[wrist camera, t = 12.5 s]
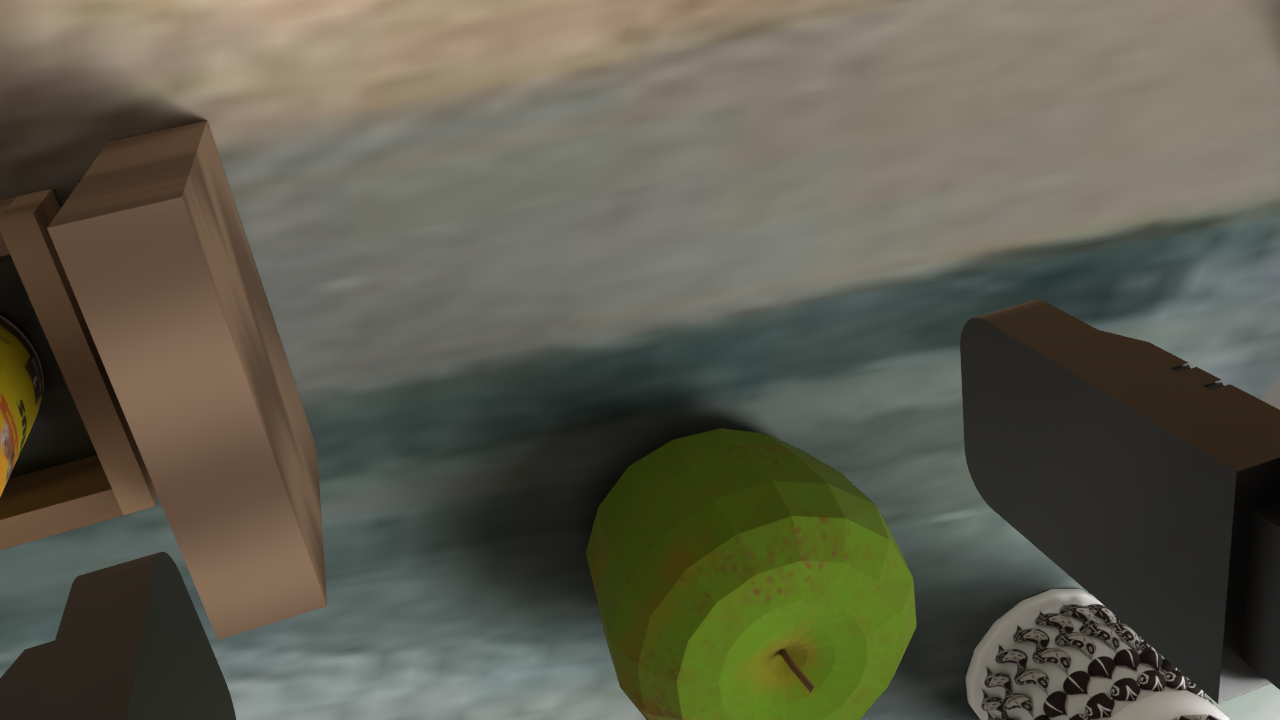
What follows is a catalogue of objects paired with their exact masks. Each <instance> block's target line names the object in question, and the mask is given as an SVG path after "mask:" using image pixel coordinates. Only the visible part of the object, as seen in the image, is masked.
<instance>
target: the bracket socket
mask: <svg viewBox="0 0 1280 720" xmlns="http://www.w3.org/2000/svg"><path fill="white" fill-rule="evenodd" d="M9 254H10V255H11V257H12V260H13V262H14V264H15V266H16V269H17V271H18V273H19V276H20V278H21V280H22V283H23V285H24V287H25V289H26V292H27V294H28V296H29V299H30V301H31V303H32V306H33V308H34V310H35V313H36V315H37V317H38V319H39V322H40V324H41V326H42V329H43V331H44V333H45V336H46V338H47V340H48V342H49V345H50V347H51V349H52V352H53V354H54V356H55V359H56V361H57V363H58V365H59V368H60V370H61V372H62V375H63V377H64V379H65V382H66V384H67V386H68V388H69V391H70V393H71V395H72V398H73V400H74V402H75V405H76V407H77V409H78V412H79V414H80V416H81V418H82V421H83V423H84V425H85V428H86V430H87V432H88V435H89V437H90V439H91V441H92V444H93V446H94V448H95V451H96V453H97V455H94V456H90V457H87V458H83V459H79V460H76V461H72V462H68V463H65V464H61V465H57V466H53V467H50V468H46V469H42V470H39V471H35V472H31V473H28V474H24V475H20V476H17V477H13V478H9V479H8V481H7V483H6V486H5V488H4V490H3V492H2V495H1V497H0V550H2V549H6V548H9V547H13V546H16V545H20V544H23V543H27V542H30V541H34V540H38V539H41V538H45V537H48V536H52V535H55V534H59V533H62V532H66V531H69V530H73V529H77V528H80V527H84V526H87V525H91V524H94V523H98V522H101V521H105V520H108V519H112V518H115V517H119V516H123V515H126V514H130V513H133V512H137V511H140V510H144V509H147V508H151V507H154V506H156V502H157V497H159V499H160V502H161V504H162V507H163V509H164V511H165V514H166V516H167V519H168V521H169V523H170V526H171V528H172V531H173V533H174V535H175V538H176V540H177V543H178V545H179V548H180V550H181V552H182V555H183V557H184V560H185V562H186V564H187V567H188V569H189V572H190V574H191V576H192V579H193V581H194V584H195V586H196V589H197V591H198V593H199V596H200V598H201V601H202V603H203V605H204V608H205V610H206V613H207V615H208V617H209V620H210V622H211V625H212V627H213V630H214V632H215V634H216V637H217V639H222V638H225V637H228V636H231V635H235V634H238V633H241V632H244V631H248V630H251V629H254V628H257V627H261V626H264V625H267V624H270V623H274V622H277V621H280V620H283V619H287V618H290V617H293V616H296V615H300V614H303V613H306V612H309V611H312V610H316V609H319V608H322V607H325V606H327V598H326V582H325V567H324V551H323V535H322V520H321V504H320V488H319V473H318V457H317V447H316V444H315V441H314V438H313V435H312V432H311V429H310V426H309V423H308V420H307V417H306V414H305V411H304V408H303V405H302V402H301V399H300V396H299V393H298V390H297V387H296V384H295V381H294V378H293V375H292V372H291V369H290V366H289V363H288V360H287V357H286V354H285V351H284V348H283V345H282V342H281V339H280V336H279V333H278V330H277V327H276V324H275V321H274V318H273V315H272V312H271V309H270V306H269V303H268V300H267V297H266V294H265V291H264V288H263V285H262V282H261V280H260V277H259V274H258V271H257V268H256V265H255V262H254V259H253V256H252V253H251V250H250V247H249V244H248V241H247V238H246V235H245V232H244V229H243V226H242V223H241V220H240V217H239V214H238V211H237V208H236V205H235V202H234V199H233V196H232V193H231V190H230V187H229V184H228V181H227V178H226V175H225V172H224V169H223V166H222V163H221V160H220V157H219V154H218V151H217V148H216V145H215V142H214V139H213V136H212V133H211V130H210V127H209V124H208V121H207V120H206V121H201V122H197V123H192V124H187V125H183V126H178V127H174V128H169V129H165V130H160V131H155V132H151V133H146V134H142V135H137V136H133V137H128V138H123V139H119V140H114V141H110V142H107V144H106V145H105V147H104V148H103V149H102V151H101V152H100V154H99V155H98V157H97V158H96V159H95V161H94V162H93V164H92V165H91V166H90V168H89V169H88V171H87V172H86V174H85V175H84V176H83V178H82V179H81V181H80V182H79V184H78V185H77V186H76V188H75V189H74V191H73V192H72V193H71V195H70V196H69V198H68V199H67V201H66V202H65V203H64V205H63V206H62V208H60V206H59V203H58V201H57V198H56V196H55V193H54V191H53V189H52V188H51V189H47V190H42V191H38V192H33V193H29V194H24V195H20V196H15V197H11V198H7V199H2V200H0V257H1V256H5V255H9Z"/></svg>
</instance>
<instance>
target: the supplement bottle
mask: <svg viewBox="0 0 1280 720" xmlns="http://www.w3.org/2000/svg"><path fill="white" fill-rule="evenodd" d="M43 391H44V379H43V372H42V367H41V364H40V360H39V358H38V355H37V353H36V351H35V349H34V347H33V346H32V344H31V343H30V341H29V340H28V339H27V337H26V336H25V335H24V334H23V333H22V332H21V331H20V330H19V329H18V328H17V327H16V326H15V325H14V324H13V323H11V322H10V321H9V320H7V319H6V318H5V317H3V316H2V315H0V497H1V495H2V492H3V490H4V488H5V486H6V483H7V481H8V479H9V477H10V475H11V472H12V470H13V468H14V466H15V463H16V461H17V459H18V457H19V455H20V452H21V450H22V448H23V446H24V444H25V442H26V439H27V437H28V435H29V433H30V431H31V428H32V426H33V424H34V421H35V419H36V417H37V414H38V412H39V409H40V406H41V402H42V398H43Z"/></svg>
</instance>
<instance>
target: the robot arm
mask: <svg viewBox="0 0 1280 720" xmlns="http://www.w3.org/2000/svg"><path fill="white" fill-rule="evenodd" d="M960 350H961V373H962V396H963V419H964V442H965V455H966V460H967V465H968V468H969V472H970V474H971V477H972V479H973V482H974V484H975V486H976V488H977V490H978V492H979V493H980V495H981V496H982V498H983V499H984V500H985V502H986V503H987V504H988V505H989V506H990V507H991V508H992V509H993V510H994V511H995V512H996V513H998V514H999V515H1000V516H1001V517H1002V518H1003V519H1005V520H1006V521H1007V522H1008V523H1009V524H1010V525H1011V526H1013V527H1014V528H1015V529H1016V530H1017V531H1018V532H1020V533H1021V534H1022V535H1023V536H1024V537H1025V538H1027V539H1028V540H1029V541H1030V542H1031V543H1032V544H1033V545H1035V546H1036V547H1037V548H1038V549H1039V550H1040V551H1042V552H1043V553H1044V554H1045V555H1046V556H1047V557H1049V558H1050V559H1051V560H1052V561H1053V562H1054V563H1055V564H1057V565H1058V566H1059V567H1060V568H1061V569H1062V570H1064V571H1065V572H1066V573H1067V574H1068V575H1069V576H1071V577H1072V578H1073V579H1074V580H1075V581H1076V582H1077V583H1079V584H1080V585H1081V586H1082V587H1083V588H1084V589H1086V590H1087V591H1088V592H1089V593H1090V594H1091V595H1093V596H1094V597H1095V598H1096V599H1097V600H1098V601H1099V602H1101V603H1102V604H1103V605H1104V606H1105V607H1106V608H1108V609H1109V610H1110V611H1111V612H1112V613H1113V614H1114V615H1116V616H1117V617H1118V618H1119V619H1120V620H1121V621H1123V622H1124V623H1125V624H1126V625H1127V626H1128V627H1130V628H1131V629H1132V630H1133V631H1134V632H1135V633H1136V634H1138V635H1139V636H1140V637H1141V638H1142V639H1143V640H1145V641H1146V642H1147V643H1148V644H1149V645H1150V646H1152V647H1153V648H1154V649H1155V650H1156V651H1157V652H1158V653H1160V654H1161V655H1162V656H1163V657H1164V658H1165V659H1167V660H1168V661H1169V662H1170V663H1171V664H1172V665H1174V666H1175V667H1176V668H1177V669H1178V670H1179V671H1180V672H1182V673H1183V674H1184V675H1185V676H1186V677H1187V678H1189V679H1190V680H1191V681H1192V682H1193V683H1194V684H1196V685H1197V686H1198V687H1199V688H1200V689H1201V690H1202V691H1204V692H1205V693H1206V694H1207V695H1208V696H1209V697H1211V698H1212V699H1213V700H1214V701H1215V702H1216V703H1218V704H1220V703H1222V702H1225V701H1227V700H1230V699H1233V698H1235V697H1238V696H1240V695H1243V694H1246V693H1248V692H1251V691H1253V690H1256V689H1259V688H1261V687H1264V686H1266V685H1269V684H1271V683H1272V684H1273V685H1275V686H1276V687H1277V688H1278V689H1280V410H1279V409H1277V408H1275V407H1273V406H1271V405H1269V404H1267V403H1265V402H1263V401H1261V400H1260V399H1258V398H1256V397H1254V396H1252V395H1250V394H1248V393H1246V392H1244V391H1242V390H1240V389H1238V388H1236V387H1234V386H1232V385H1227V386H1224V385H1223V384H1222V380H1221V379H1219V378H1217V377H1215V376H1213V375H1211V374H1209V373H1207V372H1205V371H1203V370H1201V369H1199V368H1197V367H1195V368H1192V369H1191V368H1190V367H1189V363H1188V362H1186V361H1184V360H1182V359H1180V358H1178V357H1176V356H1174V355H1172V354H1170V353H1168V352H1166V351H1165V350H1163V349H1161V348H1159V347H1157V346H1155V345H1153V344H1151V343H1149V342H1145V341H1141V340H1137V339H1133V338H1129V337H1125V336H1121V335H1117V334H1112V333H1108V332H1104V331H1100V330H1097V329H1095V328H1094V327H1092V326H1090V325H1088V324H1086V323H1084V322H1082V321H1080V320H1079V319H1077V318H1075V317H1073V316H1071V315H1069V314H1067V313H1065V312H1063V311H1062V310H1060V309H1058V308H1056V307H1054V306H1052V305H1050V304H1048V303H1046V302H1044V301H1041V300H1034V301H1030V302H1026V303H1023V304H1019V305H1016V306H1013V307H1009V308H1006V309H1002V310H999V311H995V312H992V313H988V314H985V315H982V316H978V317H975V318H972V319H970V320H968V321H967V323H966V324H965V326H964V327H963V330H962V334H961V341H960ZM0 720H236V716H235V711H234V707H233V703H232V700H231V696H230V693H229V690H228V687H227V684H226V682H225V679H224V677H223V674H222V672H221V670H220V667H219V665H218V662H217V660H216V658H215V655H214V653H213V650H212V648H211V646H210V643H209V641H208V639H207V636H206V634H205V631H204V629H203V627H202V624H201V622H200V619H199V617H198V615H197V612H196V610H195V608H194V605H193V603H192V600H191V598H190V596H189V593H188V591H187V588H186V586H185V584H184V581H183V579H182V577H181V574H180V572H179V570H178V568H177V566H176V564H175V563H174V561H173V560H172V558H171V557H170V556H169V555H168V554H167V553H165V552H160V553H156V554H153V555H149V556H146V557H142V558H139V559H135V560H132V561H129V562H125V563H122V564H118V565H115V566H111V567H108V568H105V569H101V570H98V571H94V572H91V573H87V574H84V575H80V576H78V577H76V579H75V580H74V582H73V584H72V587H71V590H70V593H69V597H68V600H67V603H66V607H65V610H64V613H63V616H62V620H61V623H60V626H59V630H58V633H57V636H56V640H55V641H52V642H49V643H45V644H42V645H39V646H35V647H32V648H29V649H25V650H24V651H23V653H22V654H21V655H20V656H19V657H18V658H17V660H16V661H15V662H14V663H13V664H12V665H11V667H10V668H9V669H8V670H7V671H6V672H5V674H4V675H3V676H2V677H1V678H0Z"/></svg>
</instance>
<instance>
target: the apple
mask: <svg viewBox="0 0 1280 720" xmlns="http://www.w3.org/2000/svg"><path fill="white" fill-rule="evenodd" d="M586 556H587V560H588V564H589V568H590V572H591V577H592V581H593V585H594V589H595V593H596V598H597V602H598V606H599V610H600V614H601V619H602V623H603V627H604V631H605V635H606V639H607V643H608V647H609V650H610V654H611V657H612V661H613V664H614V667H615V671H616V674H617V678H618V681H619V685H620V687H621V689H622V690H623V691H624V692H625V694H626V695H627V696H628V697H629V699H630V700H631V701H632V702H633V704H634V705H635V706H636V707H637V708H638V710H639V711H640V712H641V713H642V715H643V716H644V717H645V718H646V720H860V719H861V718H862V716H863V715H864V714H865V713H866V712H867V711H868V709H869V708H870V707H871V706H872V705H873V703H874V702H875V701H876V700H877V699H878V698H879V696H880V695H881V694H882V693H883V692H884V691H885V689H886V688H887V687H888V685H889V683H890V682H891V680H892V678H893V676H894V674H895V672H896V670H897V668H898V666H899V664H900V661H901V659H902V657H903V655H904V653H905V651H906V648H907V646H908V644H909V642H910V640H911V637H912V635H913V633H914V631H915V629H916V627H917V624H916V609H915V594H914V579H913V577H912V575H911V572H910V570H909V568H908V566H907V563H906V561H905V559H904V557H903V555H902V552H901V550H900V548H899V546H898V544H897V542H896V540H895V539H894V537H893V535H892V533H891V532H890V530H889V528H888V526H887V524H886V523H885V521H884V519H883V517H882V516H881V514H880V512H879V510H878V508H877V507H876V505H875V504H874V503H873V502H872V501H871V500H870V499H869V498H868V497H866V496H865V495H864V494H863V493H862V492H861V491H860V490H859V489H858V488H856V487H855V486H854V485H853V484H852V483H851V482H850V481H849V480H848V479H847V478H845V477H844V476H843V475H842V474H841V473H840V472H838V471H836V470H835V469H833V468H831V467H829V466H828V465H826V464H824V463H823V462H821V461H819V460H818V459H816V458H814V457H812V456H811V455H809V454H807V453H806V452H804V451H802V450H800V449H798V448H796V447H793V446H791V445H789V444H787V443H785V442H783V441H780V440H778V439H776V438H774V437H772V436H769V435H767V434H765V433H756V432H748V431H740V430H732V429H723V428H720V429H716V430H712V431H707V432H703V433H699V434H695V435H691V436H686V437H682V438H678V439H674V440H672V441H670V442H669V443H667V444H665V445H664V446H662V447H660V448H659V449H657V450H655V451H653V452H652V453H650V454H648V455H647V456H645V457H643V458H642V459H640V460H638V461H637V462H635V463H633V464H632V465H630V466H629V467H628V468H627V469H626V471H625V472H624V473H623V475H622V476H621V477H620V479H619V480H618V481H617V483H616V484H615V485H614V487H613V488H612V489H611V491H610V492H609V493H608V495H607V496H606V497H605V499H604V500H603V501H602V503H601V504H600V505H599V507H598V510H597V513H596V517H595V521H594V524H593V528H592V532H591V536H590V539H589V543H588V547H587V551H586Z"/></svg>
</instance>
